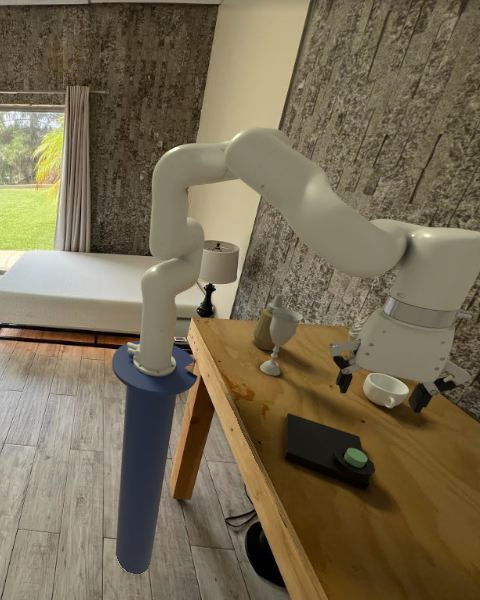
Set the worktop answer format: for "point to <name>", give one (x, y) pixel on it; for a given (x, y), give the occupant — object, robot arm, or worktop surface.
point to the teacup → (385, 390)
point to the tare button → (355, 457)
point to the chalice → (280, 335)
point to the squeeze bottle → (266, 325)
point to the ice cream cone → (356, 332)
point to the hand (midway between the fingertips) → (376, 397)
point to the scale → (324, 451)
